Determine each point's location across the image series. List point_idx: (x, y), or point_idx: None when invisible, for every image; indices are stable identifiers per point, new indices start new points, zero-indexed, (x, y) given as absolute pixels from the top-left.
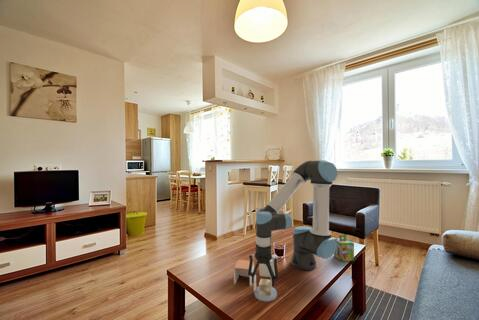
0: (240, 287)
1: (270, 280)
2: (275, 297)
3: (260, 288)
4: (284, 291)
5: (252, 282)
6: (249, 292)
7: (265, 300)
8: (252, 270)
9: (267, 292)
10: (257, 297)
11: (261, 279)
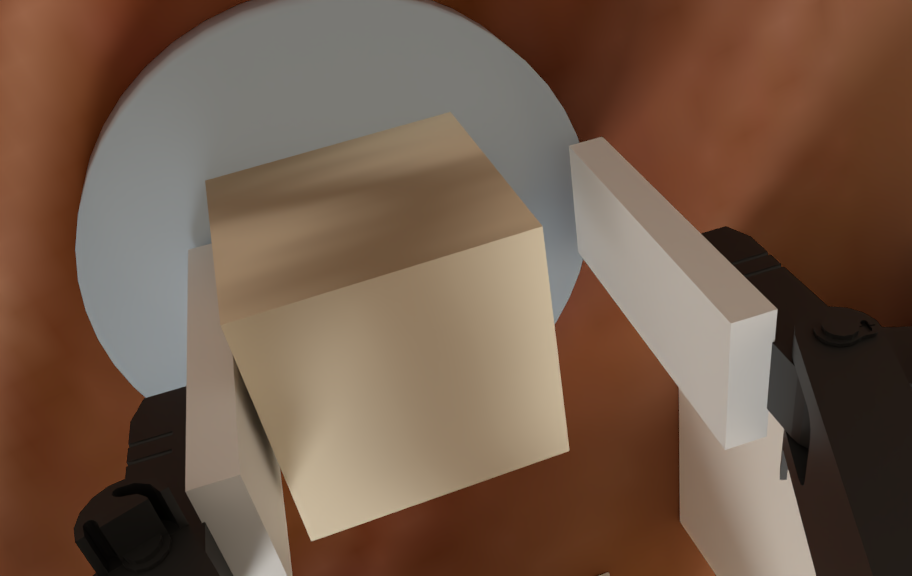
0: (846, 183)
1: (231, 474)
2: (77, 222)
3: (463, 182)
4: (37, 489)
5: (724, 239)
6: (664, 133)
7: (244, 11)
8: (793, 573)
9: (266, 201)
10: (459, 17)
11: (538, 430)
